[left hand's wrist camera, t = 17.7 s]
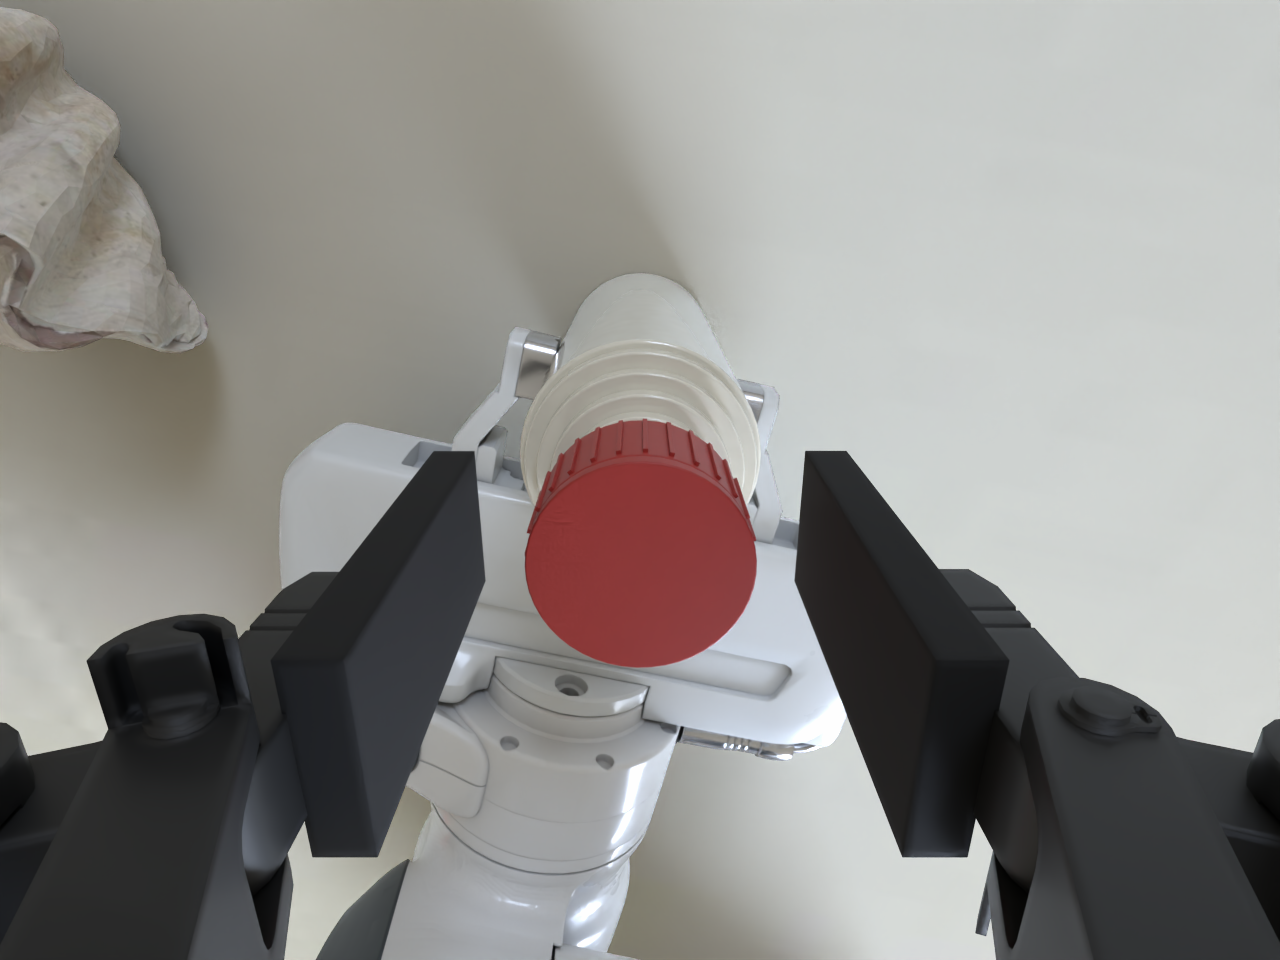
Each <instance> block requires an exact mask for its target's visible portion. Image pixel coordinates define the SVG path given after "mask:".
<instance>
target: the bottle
mask: <svg viewBox="0 0 1280 960" xmlns="http://www.w3.org/2000/svg"><path fill="white" fill-rule="evenodd" d="M643 418H644V419H647V421H657V422H662V423H666V422H671V425H674V426H676V427H679V428H682V429H684V430H686V431H689V430H691V431H693V433H694V435H696V436H697V437H699V438H700V439H702V440H703V441H704V442H706V443H707V444H708V443H709V442H710V443H711V444H712V445H713V449H714V450H715V451H716V452H717V453H718V455H719V456H720V457H721V458H722V460H724V459H726V460H727V461H728V465H729V468H730V471H731V474H732V476H733V479H734V478H737V480H738V482H739V485H740V488H741V491H742V494H743V497H744V500H745V503H746V506H747V505H748V503H749V501H750V499H751V497H752V495H753V492H754V489H755V487H756V484H757V480H758V476H759V471H760V463H761V442H760V435H759V430H758V425H757V422H756V419H755V416H754V413H753V411H752V408H751V406H750V404H749V402H748V400H747V398H746V396H745V394H744V392H743V390H742V388H741V386H740V384H739V382H738V380H737V378H736V376H735V374H734V372H733V370H732V368H731V366H730V364H729V362H728V360H727V359H726V357H725V355H724V353H723V351H722V349H721V347H720V345H719V343H718V341H717V339H716V337H715V335H714V333H713V331H712V329H711V327H710V325H709V323H708V321H707V319H706V317H705V315H704V313H703V311H702V309H701V307H700V306H699V304H698V303H697V301H696V300H695V299H694V298H693V297H692V295H691V294H690V293H689V292H688V291H686V290H685V289H684V288H683V287H682V286H680V285H679V284H677V283H675V282H674V281H672V280H669V279H667V278H665V277H662V276H658V275H655V274H648V273H633V274H626V275H622V276H619V277H616V278H613V279H611V280H609V281H607V282H605V283H604V284H602V285H600V286H599V287H598V288H596V289H595V290H594V291H593V292H592V293H591V294H590V295H589V296H588V297H587V298H586V299H585V301H584V302H583V303H582V305H581V306H580V308H579V310H578V312H577V314H576V316H575V318H574V320H573V322H572V324H571V326H570V328H569V330H568V332H567V334H566V336H565V338H564V340H563V342H562V344H561V346H560V348H559V350H558V352H557V354H556V356H555V358H554V360H553V362H552V364H551V366H550V368H549V370H548V372H547V374H546V376H545V378H544V380H543V382H542V384H541V386H540V388H539V390H538V392H537V394H536V396H535V398H534V400H533V402H532V404H531V406H530V408H529V411H528V414H527V416H526V419H525V421H524V426H523V430H522V434H521V443H520V464H521V471H522V476H523V481H524V484H525V487H526V490H527V492H528V495H529V497H530V499H531V501H532V503H533V505H534V507H535V505H536V502H537V499H538V496H539V493H540V491H541V489H542V486H543V483H544V480H545V477H546V474H547V472H548V471H550V472H551V471H552V469H553V467H554V466H555V464H556V462H557V459H558V456H559V454H560V453H562V454H564V453H565V452H566V451H567V450H568V449H569V448H570V447H571V446H572V445H573V444H574V443H575V440H576V439H577V438H580V439H581V438H583V437H584V436H586V435H588V434H589V433H591V432H593V431H595V428H597V427H599V426H600V428H602V427H604V426H608V425H611V424H615V423H618V421H619V420H623V422H626V421H637V420H643Z"/></svg>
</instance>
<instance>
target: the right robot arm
mask: <svg viewBox="0 0 1280 960" xmlns="http://www.w3.org/2000/svg"><path fill="white" fill-rule="evenodd" d="M560 344H561V338H560V337H556V336H552V335H548V334H544V333H540V332H537V331H533V330H530V329H525V328H520V327H515V328H514V329H513V330H512V332H511V333H510V336H509V339H508V343H507V346H506V351H505V357H504V362H503V368H502V374H501V380H500V383H499V384H498V385H497V386H496V387H495V389H494V390H493V391H492V392H491V393H490V394H489V395H488V396H487V398H486V399H485V400H484V401H483V402H482V403H481V404H480V405H479V407H478V408H477V409H476V410H475V411H474V412H473V413H472V414H471V416H470V417H469V418H468V419H467V420H466V422H465V423H464V424H463V426H462V427H461V428H460V430H459V431H458V432H457V434H456V435H455V436H454V438H453V444H448V443H444V442H439V441H434V440H430V439H425V438H421V437H416V436H412V435H407V434H403V433H398V432H394V431H389V430H385V429H380V428H376V427H371V426H367V425H362V424H358V423H343V424H340V425H338V426H336V427H335V428H333V429H332V430H330V431H329V432H327V433H326V434H324V435H323V436H321V437H320V438H318V439H317V440H315V441H314V442H312V443H311V444H310V445H309V446H308V447H307V448H305V449H304V450H303V451H302V452H301V453H300V454H299V455H298V456H297V457H296V458H295V459H294V460H293V461H292V463H291V464H290V466H289V467H288V469H287V471H286V473H285V475H284V478H283V482H282V489H281V498H280V514H279V558H280V578H281V590H282V589H284V588H285V587H287V586H289V585H291V584H292V583H294V582H296V581H297V580H299V579H301V578H302V577H304V576H306V575H307V574H309V573H311V572H340V570H341V569H342V568H343V567H344V565H345V564H346V563H347V561H348V560H349V559H350V558H351V556H352V555H353V554H354V552H355V551H356V550H357V549H358V547H359V546H360V545H361V543H362V542H363V541H364V540H365V538H366V537H367V536H368V534H369V533H370V532H371V531H372V529H373V528H374V527H375V526H376V524H377V523H378V522H379V520H380V519H381V518H382V517H383V515H384V514H385V513H386V511H387V510H388V509H389V508H390V506H391V505H392V504H393V502H394V501H395V500H396V499H397V497H398V496H399V495H400V493H401V492H402V491H403V490H404V488H405V487H406V486H407V485H408V483H409V482H410V481H411V479H412V478H413V477H414V476H415V474H416V473H417V472H418V470H419V469H420V468H421V467H422V465H423V464H424V463H425V461H426V460H427V459H428V458H429V456H430V455H431V454H432V452H433V451H475V462H476V474H477V485H478V497H479V509H480V520H481V532H482V544H483V555H484V567H485V579H486V581H485V584H484V586H483V589H482V592H481V594H480V597H479V599H478V602H477V604H476V607H475V609H474V612H473V615H472V617H471V620H470V622H469V625H468V627H467V630H466V632H465V635H464V638H463V640H462V643H461V645H460V648H459V650H458V653H457V655H456V658H455V661H454V663H453V666H452V668H451V671H450V673H449V676H448V678H447V681H446V684H445V686H444V689H443V691H442V694H441V696H440V699H439V701H438V704H437V707H436V709H435V712H434V714H433V717H432V719H431V722H430V724H429V727H428V730H427V732H426V735H425V737H424V740H423V742H422V745H421V747H420V750H419V753H418V755H417V758H416V760H415V763H414V765H413V768H412V770H411V773H410V776H409V778H408V781H407V783H406V786H407V787H408V788H410V789H412V790H413V791H415V792H417V793H418V794H420V795H421V796H423V797H424V798H426V799H427V800H429V801H430V803H431V813H430V814H429V816H428V818H427V820H426V821H425V823H424V825H423V827H422V829H421V832H420V834H419V837H418V841H417V844H416V848H415V852H414V856H413V861H410V860H409V859H407V860H405V861H404V862H402V863H400V864H399V865H397V866H396V867H394V868H393V869H392V870H390V871H389V872H388V873H386V874H385V875H384V876H383V877H382V878H381V879H380V880H378V881H377V882H376V883H375V884H374V885H373V886H372V887H371V888H370V889H369V890H368V891H367V892H366V893H365V894H363V895H362V896H361V897H360V898H359V899H358V900H357V901H356V902H355V903H354V904H353V905H352V906H351V907H350V908H349V909H348V910H347V911H346V912H345V913H344V915H343V916H342V917H341V919H340V920H339V921H338V923H337V925H336V926H335V928H334V929H333V931H332V932H331V934H330V935H329V937H328V939H327V940H326V942H325V944H324V946H323V947H322V949H321V951H320V953H319V955H318V957H317V959H316V960H639V959H635V958H630V957H625V956H620V955H616V954H611V953H607V951H608V948H609V946H610V943H611V940H612V938H613V935H614V932H615V930H616V927H617V924H618V921H619V918H620V915H621V912H622V909H623V906H624V903H625V900H626V895H627V891H628V886H629V878H630V862H629V857H630V856H631V855H632V854H633V852H634V851H635V850H636V848H637V847H638V846H639V844H640V843H641V841H642V839H643V837H644V835H645V833H646V831H647V829H648V827H649V824H650V821H651V818H652V815H653V812H654V808H655V805H656V802H657V799H658V796H659V793H660V790H661V787H662V783H663V780H664V777H665V774H666V770H667V768H668V765H669V762H670V758H671V755H672V752H673V749H674V746H675V744H676V743H677V742H680V743H685V744H690V745H696V746H701V747H706V748H711V749H719V750H733V751H741V752H744V751H745V752H746V753H752V754H755V756H757V757H760V758H764V759H769V760H780V761H783V760H790V759H791V757H792V755H793V753H804V752H809V751H812V750H815V749H818V748H820V747H826V746H828V745H830V744H831V743H832V742H833V741H834V740H835V739H836V738H837V736H838V735H839V733H840V731H841V728H842V726H843V723H844V721H845V719H846V716H847V714H846V712H845V709H844V707H843V704H842V701H841V699H840V696H839V694H838V691H837V689H836V686H835V684H834V681H833V678H832V676H831V673H830V671H829V668H828V666H827V663H826V661H825V658H824V655H823V653H822V650H821V648H820V645H819V643H818V640H817V638H816V635H815V632H814V630H813V627H812V625H811V622H810V620H809V617H808V615H807V612H806V609H805V607H804V604H803V602H802V599H801V597H800V594H799V592H798V589H797V586H796V584H795V581H794V579H795V567H796V555H797V544H798V532H799V521H798V520H793V519H789V518H784V517H781V515H782V512H783V510H782V506H781V502H780V498H779V494H778V490H777V486H776V482H775V478H774V474H773V470H772V466H771V462H770V458H769V454H768V452H767V450H766V447H767V444H768V441H769V438H770V434H771V431H772V428H773V425H774V422H775V418H776V415H777V412H778V408H779V399H780V398H779V394H778V393H777V391H776V390H775V388H774V387H771V386H767V385H762V384H759V383H754V382H749V381H745V380H740V379H737V380H738V382H739V384H740V386H741V388H742V390H743V392H744V394H745V396H746V398H747V400H748V402H749V404H750V406H751V408H752V411H753V413H754V416H755V419H756V422H757V425H758V430H759V435H760V442H761V463H760V471H759V476H758V480H757V484H756V487H755V489H754V492H753V495H752V497H751V499H750V501H749V503H748V505H747V509H748V512H749V515H750V521H751V524H752V527H753V530H754V533H755V536H756V541H754V544H755V548H756V557H757V573H756V579H755V585H754V589H753V592H752V595H751V598H750V600H749V602H748V604H747V606H746V608H745V610H744V612H743V614H742V615H741V617H740V618H739V620H738V621H737V623H736V624H735V625H734V626H733V627H732V628H731V630H730V631H729V632H728V633H727V634H726V635H725V636H724V637H722V638H721V639H720V640H719V641H718V642H717V643H715V644H714V645H712V646H711V647H709V648H708V649H706V650H705V651H703V652H701V653H699V654H697V655H695V656H693V657H691V658H688V659H686V660H683V661H680V662H677V663H673V664H669V665H665V666H657V667H644V668H635V667H623V666H618V665H613V664H608V663H605V662H602V661H599V660H595V659H593V658H591V657H589V656H586V655H584V654H582V653H580V652H579V651H577V650H575V649H574V648H572V647H570V646H569V645H568V644H566V643H565V642H564V641H563V640H561V639H560V638H559V637H558V636H557V635H556V634H555V633H554V632H553V631H552V630H551V629H550V628H549V627H548V626H547V624H546V623H545V622H544V620H543V619H542V618H541V616H540V614H539V613H538V611H537V609H536V607H535V606H534V604H533V601H532V599H531V596H530V594H529V590H528V586H527V582H526V575H525V549H526V546H527V542H528V538H529V535H530V534H528V533H527V529H528V526H529V523H530V520H531V517H532V514H533V511H534V508H535V507H534V505H533V503H532V501H531V499H530V497H529V495H528V492H527V490H526V487H525V484H524V481H523V476H522V471H521V464H520V459H516V458H512V457H507V456H504V451H505V445H506V439H507V433H508V431H507V429H506V428H504V427H500V426H496V425H495V424H496V423H497V422H498V421H499V420H500V419H501V418H502V417H503V415H504V414H505V413H506V412H507V411H508V410H509V409H510V408H511V406H512V405H513V404H514V403H515V402H516V401H517V400H518V399H519V397H522V398H527V399H532V400H534V398H535V396H536V394H537V392H538V390H539V388H540V386H541V384H542V382H543V380H544V378H545V376H546V374H547V372H548V370H549V368H550V366H551V364H552V362H553V360H554V358H555V356H556V354H557V352H558V350H559V348H560Z"/></svg>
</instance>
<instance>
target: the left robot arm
mask: <svg viewBox="0 0 1280 960" xmlns="http://www.w3.org/2000/svg"><path fill="white" fill-rule="evenodd" d="M485 581H486V579H485V567H484V555H483V544H482V532H481V520H480V509H479V497H478V485H477V474H476V462H475V451H433V452H432V454H431V455H430V456H429V458H428V459H427V460H426V461H425V463H424V464H423V465H422V467H421V468H420V469H419V470H418V472H417V473H416V474H415V476H414V477H413V478H412V479H411V481H410V482H409V483H408V485H407V486H406V487H405V488H404V490H403V491H402V492H401V493H400V495H399V496H398V497H397V499H396V500H395V501H394V502H393V504H392V505H391V506H390V508H389V509H388V510H387V511H386V513H385V514H384V515H383V517H382V518H381V519H380V520H379V522H378V523H377V524H376V526H375V527H374V528H373V529H372V531H371V532H370V533H369V534H368V536H367V537H366V538H365V540H364V541H363V542H362V543H361V545H360V546H359V547H358V549H357V550H356V551H355V552H354V554H353V555H352V556H351V558H350V559H349V560H348V561H347V563H346V564H345V565H344V567H343V568H342V569H341V570H340V572H311V573H309V574H307V575H306V576H304V577H302V578H301V579H299V580H297V581H296V582H294V583H292V584H291V585H289V586H287V587H285V588H284V589H282V591H281V592H280V593H279V594H278V595H277V596H276V597H275V598H274V600H273V601H272V602H271V603H270V604H269V605H268V606H267V607H266V609H265V613H261V614H260V615H259V617H258V618H257V619H256V620H255V621H254V622H253V623H252V624H251V626H250V630H249V631H245V632H244V633H243V635H242V636H241V637H240V638H239V639H238V636H237V632H236V628H235V625H234V624H232V623H231V622H229V621H228V620H227V619H225V618H224V617H219V616H213V615H208V614H193V615H178V616H174V617H169V618H165V619H160V620H156V621H152V622H149V623H146V624H144V625H141V626H138V627H136V628H133V629H131V630H128V631H126V632H123V633H122V634H120V635H118V636H117V637H115V638H113V639H112V640H110V641H108V642H107V643H105V644H103V645H102V646H100V647H99V648H98V649H97V650H96V652H95V653H94V654H93V655H92V656H91V657H90V658H89V659H88V660H87V664H88V667H89V670H90V673H91V676H92V679H93V683H94V686H95V689H96V692H97V695H98V698H99V701H100V704H101V707H102V711H103V714H104V717H105V720H106V723H107V726H108V731H107V733H106V735H105V737H104V739H103V741H99V742H95V743H91V744H86V745H81V746H76V747H71V748H66V749H61V750H56V751H51V752H46V753H42V754H37V755H32V756H27V753H26V750H25V748H24V745H23V743H22V740H21V737H20V735H19V732H18V731H17V730H15V729H14V728H13V727H11V726H10V725H8V724H7V723H0V960H284V955H285V947H286V940H287V932H288V924H289V916H290V908H291V900H292V892H293V879H292V872H291V867H290V862H289V858H288V854H287V853H288V851H289V849H290V847H291V846H292V844H293V842H294V840H295V838H296V836H297V834H298V832H299V830H300V829H301V827H302V825H303V823H304V821H305V824H306V829H307V834H308V838H309V843H310V848H311V852H312V857H378V855H379V852H380V850H381V847H382V844H383V842H384V839H385V837H386V834H387V832H388V829H389V827H390V824H391V821H392V819H393V816H394V814H395V811H396V809H397V806H398V804H399V801H400V799H401V796H402V793H403V791H404V788H405V786H406V783H407V781H408V778H409V776H410V773H411V770H412V768H413V765H414V763H415V760H416V758H417V755H418V753H419V750H420V747H421V745H422V742H423V740H424V737H425V735H426V732H427V730H428V727H429V724H430V722H431V719H432V717H433V714H434V712H435V709H436V707H437V704H438V701H439V699H440V696H441V694H442V691H443V689H444V686H445V684H446V681H447V678H448V676H449V673H450V671H451V668H452V666H453V663H454V661H455V658H456V655H457V653H458V650H459V648H460V645H461V643H462V640H463V638H464V635H465V632H466V630H467V627H468V625H469V622H470V620H471V617H472V615H473V612H474V609H475V607H476V604H477V602H478V599H479V597H480V594H481V592H482V589H483V586H484V584H485ZM794 581H795V584H796V586H797V589H798V592H799V594H800V597H801V599H802V602H803V604H804V607H805V609H806V612H807V615H808V617H809V620H810V622H811V625H812V627H813V630H814V632H815V635H816V638H817V640H818V643H819V645H820V648H821V650H822V653H823V655H824V658H825V661H826V663H827V666H828V668H829V671H830V673H831V676H832V678H833V681H834V684H835V686H836V689H837V691H838V694H839V696H840V699H841V701H842V704H843V707H844V709H845V712H846V714H847V717H848V719H849V722H850V724H851V727H852V730H853V732H854V735H855V737H856V740H857V742H858V745H859V747H860V750H861V753H862V755H863V758H864V760H865V763H866V765H867V768H868V770H869V773H870V776H871V778H872V781H873V783H874V786H875V788H876V791H877V793H878V796H879V799H880V801H881V804H882V806H883V809H884V811H885V814H886V816H887V819H888V822H889V824H890V827H891V829H892V832H893V834H894V837H895V839H896V842H897V845H898V847H899V850H900V852H901V855H902V857H968V852H969V848H970V843H971V838H972V834H973V829H974V824H975V820H976V819H977V821H978V823H979V825H980V827H981V828H982V830H983V832H984V834H985V836H986V838H987V840H988V842H989V843H990V845H991V847H992V849H993V854H992V858H991V862H990V867H989V871H988V875H987V880H986V884H985V888H984V893H983V897H982V901H981V906H980V910H979V914H978V920H977V926H976V933H977V934H980V935H984V936H986V934H987V930H988V926H989V922H990V919H991V922H992V930H993V937H994V945H995V953H996V960H1280V719H1277V720H1274V721H1272V722H1271V723H1270V724H1268V725H1267V726H1265V727H1264V728H1263V729H1262V732H1261V735H1260V737H1259V740H1258V743H1257V745H1256V748H1255V750H1254V753H1251V752H1246V751H1241V750H1236V749H1231V748H1226V747H1221V746H1216V745H1211V744H1206V743H1201V742H1196V741H1191V740H1186V739H1183V738H1179V737H1176V736H1175V734H1174V732H1173V730H1172V728H1171V727H1170V725H1169V724H1168V723H1167V722H1166V721H1165V719H1164V718H1163V717H1162V716H1161V714H1160V713H1159V712H1158V711H1157V710H1155V709H1154V708H1152V707H1151V706H1149V705H1148V704H1147V703H1145V702H1144V701H1142V700H1141V699H1139V698H1138V697H1136V696H1134V695H1132V694H1130V693H1128V692H1125V691H1123V690H1121V689H1119V688H1116V687H1114V686H1112V685H1109V684H1105V683H1101V682H1097V681H1093V680H1089V679H1086V678H1079V677H1078V676H1077V675H1076V674H1075V672H1074V671H1073V670H1072V669H1071V668H1070V667H1069V666H1068V665H1067V664H1066V662H1065V661H1064V660H1063V659H1062V658H1061V657H1060V656H1059V655H1058V653H1057V652H1056V651H1055V650H1054V649H1053V648H1052V647H1051V646H1050V644H1049V643H1048V642H1047V641H1046V640H1045V639H1044V638H1043V637H1042V636H1041V634H1040V633H1039V632H1038V631H1037V630H1036V629H1035V628H1031V623H1030V622H1029V621H1028V620H1027V619H1026V618H1025V617H1024V615H1023V614H1022V613H1021V612H1020V611H1016V606H1015V605H1014V604H1013V603H1012V602H1011V601H1010V600H1009V599H1008V598H1007V596H1006V595H1005V594H1004V593H1003V592H1002V591H1001V590H1000V589H999V587H998V586H996V585H994V584H993V583H991V582H989V581H987V580H986V579H984V578H982V577H981V576H979V575H977V574H976V573H974V572H972V571H970V570H969V569H938V568H937V567H936V565H935V564H934V563H933V561H932V560H931V559H930V558H929V556H928V555H927V554H926V552H925V551H924V550H923V549H922V547H921V546H920V545H919V543H918V542H917V541H916V540H915V538H914V537H913V536H912V534H911V533H910V532H909V531H908V529H907V528H906V527H905V526H904V524H903V523H902V522H901V520H900V519H899V518H898V517H897V515H896V514H895V513H894V511H893V510H892V509H891V508H890V506H889V505H888V504H887V502H886V501H885V500H884V499H883V497H882V496H881V495H880V493H879V492H878V491H877V490H876V488H875V487H874V486H873V485H872V483H871V482H870V481H869V479H868V478H867V477H866V476H865V474H864V473H863V472H862V470H861V469H860V468H859V467H858V465H857V464H856V463H855V461H854V460H853V459H852V458H851V456H850V455H849V454H848V452H847V451H805V462H804V474H803V485H802V497H801V509H800V520H799V532H798V544H797V555H796V567H795V579H794Z"/></svg>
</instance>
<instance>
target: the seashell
mask: <svg viewBox="0 0 1280 960" xmlns="http://www.w3.org/2000/svg"><path fill="white" fill-rule="evenodd" d="M63 61H64V49H63V46H62V42H61V39H60V36H59V33H58V30H57V28H56V27H55V26H54V25H53V24H52V23H51V22H50V21H49V20H47V19H46V18H44V17H41V16H39V15H36V14H33V13H30V12H27V11H24V10H21V9H12V8H5V7H0V344H2V345H5V346H8V347H11V348H14V349H17V350H20V351H23V352H29V351H56V352H59V351H63V350H68V349H73V348H78V347H82V346H85V345H87V344H89V343H92V342H94V341H96V340H99V339H101V338H113V339H122V340H127V341H131V342H133V343H136V344H138V345H141V346H144V347H148V348H152V349H154V350H157V351H159V352H168V353H178V354H180V353H183V352H185V351H188V350H191V349H193V348H194V347H195V346H198V345H200V344H203V342H204V341H205V339H206V337H207V332H208V324H207V321H206V318H205V316H204V315H203V314H202V313H201V312H200V311H199V310H198V309H197V305H196V303H195V302H194V300H193V299H192V298H191V296H190V295H189V294H188V292H187V291H186V290H185V288H183V287H182V286H180V285H179V284H178V282H177V280H176V278H175V275H174V273H173V272H172V271H169V270H167V266H166V260H165V258H164V257H163V256H162V252H161V236H160V232H159V229H158V226H157V223H156V220H155V217H154V215H153V213H152V210H151V208H150V206H149V204H148V202H147V200H146V197H145V195H144V193H143V191H142V189H141V187H140V186H139V185H138V184H137V183H136V181H135V180H134V179H133V178H132V177H131V176H130V175H129V174H128V172H127V171H126V170H125V169H124V168H123V167H122V166H121V165H120V164H119V162H118V161H117V160H116V159H115V158H114V157H113V156H114V154H115V152H116V150H117V148H118V146H119V142H120V129H121V126H120V123H119V120H118V117H117V115H116V113H115V112H114V111H113V110H112V109H111V108H110V107H109V106H108V105H107V104H105V103H104V102H103V101H102V100H101V99H99V98H98V97H96V96H95V95H93V94H91V93H90V92H88V91H86V90H85V89H83V88H81V87H79V86H78V85H77V84H76V83H75V82H74V80H73V79H72V78H71V77H70V75H69V74H68V73H67V71H66V70H65V69H64V67H63Z"/></svg>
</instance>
